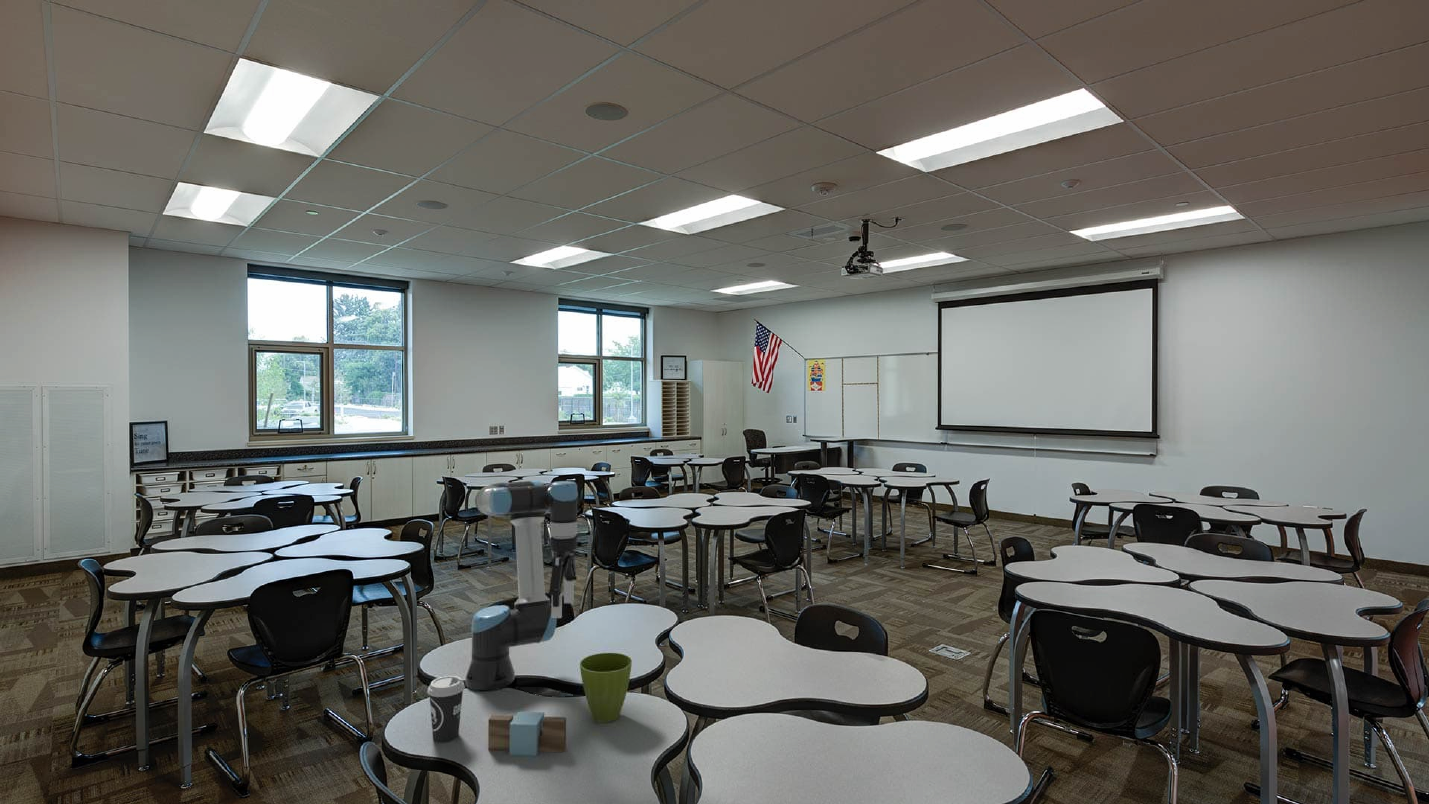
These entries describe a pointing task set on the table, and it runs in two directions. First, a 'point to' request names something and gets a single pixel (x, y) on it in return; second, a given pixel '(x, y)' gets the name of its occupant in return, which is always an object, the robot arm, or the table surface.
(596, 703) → the flower pot
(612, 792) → the table surface
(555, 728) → the walnut slotted plate
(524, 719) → the teal notched block
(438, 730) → the coffee cup
